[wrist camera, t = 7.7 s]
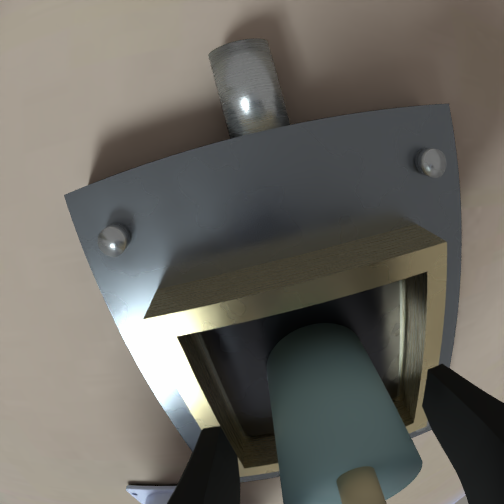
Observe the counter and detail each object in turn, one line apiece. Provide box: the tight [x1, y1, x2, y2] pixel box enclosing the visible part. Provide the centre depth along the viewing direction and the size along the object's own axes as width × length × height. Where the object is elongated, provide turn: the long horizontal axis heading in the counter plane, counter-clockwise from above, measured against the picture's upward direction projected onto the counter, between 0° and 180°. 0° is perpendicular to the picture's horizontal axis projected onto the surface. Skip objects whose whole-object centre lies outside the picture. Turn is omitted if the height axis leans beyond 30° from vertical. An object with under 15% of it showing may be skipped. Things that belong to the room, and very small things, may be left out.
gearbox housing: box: [64, 39, 461, 482], centre depth 12 cm, size 21×14×4 cm, turn 14°
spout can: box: [266, 323, 422, 504], centre depth 9 cm, size 4×4×7 cm
